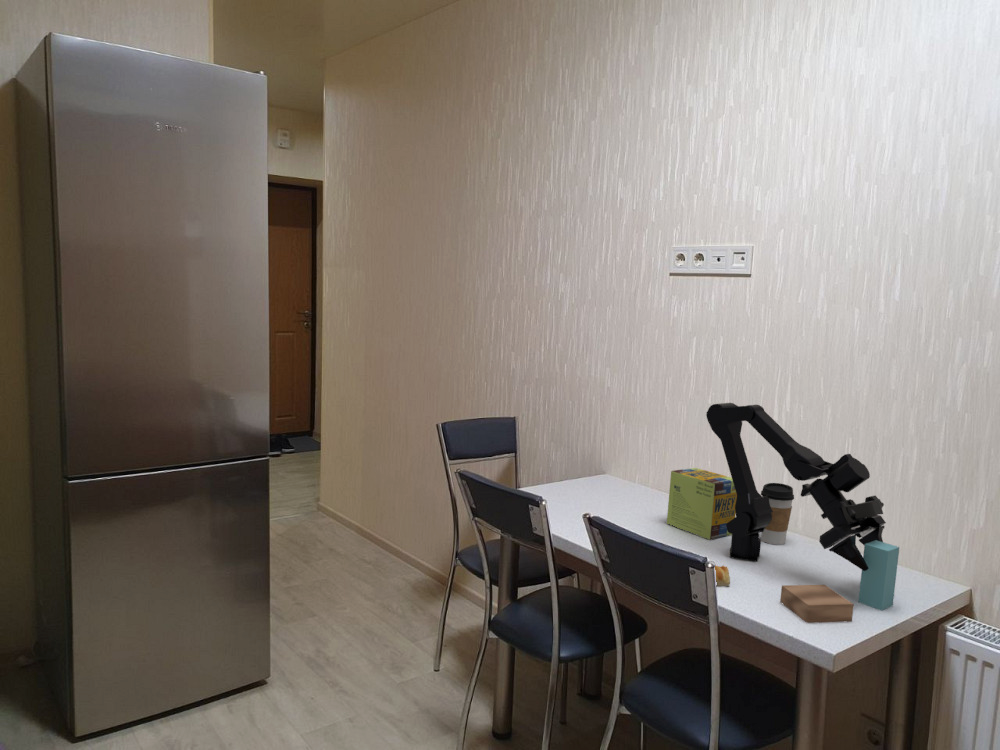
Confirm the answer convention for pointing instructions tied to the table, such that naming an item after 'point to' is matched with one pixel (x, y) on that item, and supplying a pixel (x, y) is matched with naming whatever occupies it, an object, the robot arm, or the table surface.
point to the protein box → (701, 502)
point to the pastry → (722, 576)
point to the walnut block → (816, 603)
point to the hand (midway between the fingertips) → (877, 565)
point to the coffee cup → (777, 512)
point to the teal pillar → (879, 575)
